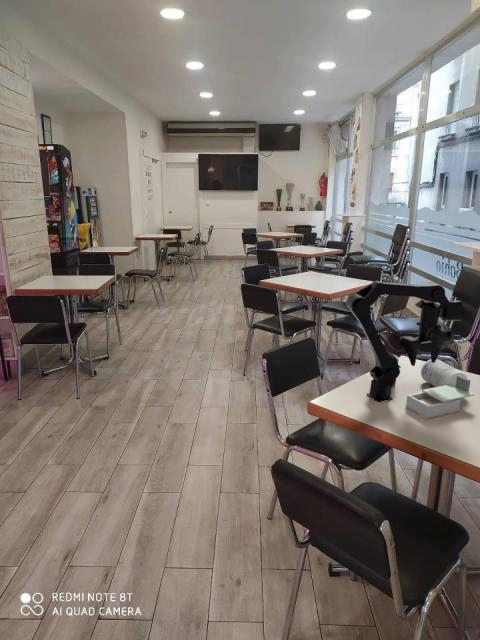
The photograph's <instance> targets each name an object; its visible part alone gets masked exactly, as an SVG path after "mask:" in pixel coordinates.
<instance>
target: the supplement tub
mask: <svg viewBox="0 0 480 640" xmlns="http://www.w3.org/2000/svg"><path fill="white" fill-rule="evenodd" d="M420 376H421V377H422V379H423V380H424V381H425V382H427V383H428V384H430V385H431V386H433V388H435V387H440V386H445V385H450V384H454V385H456V379H457V376H462V377H464V378H466V379H469V378H468V376H467V375H466V374H465V373H463V372H462V371H460V370H459V369H456V368H455V367H453V366H450V365H449V364H447V363H446V362H444V361H442V360H441V359H438V358H437V359H436V361H435V363H433V362H432V361H431V358H430V359H428V360H427V361H425V362H424V363H423V365H422V367H421V370H420Z"/></svg>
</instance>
